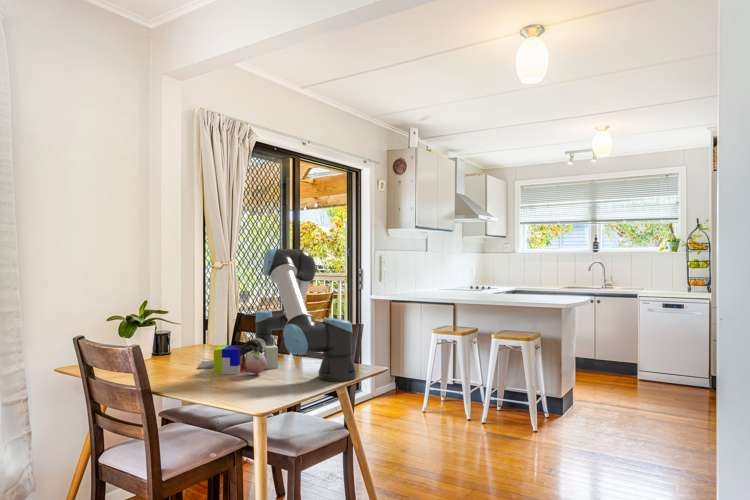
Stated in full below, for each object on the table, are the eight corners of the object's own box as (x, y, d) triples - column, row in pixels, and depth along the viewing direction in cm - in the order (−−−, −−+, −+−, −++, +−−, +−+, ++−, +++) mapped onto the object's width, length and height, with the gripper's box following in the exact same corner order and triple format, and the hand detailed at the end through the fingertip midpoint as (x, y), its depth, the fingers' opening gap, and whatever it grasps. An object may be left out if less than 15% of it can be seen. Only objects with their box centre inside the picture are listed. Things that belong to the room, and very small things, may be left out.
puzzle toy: (237, 374, 208) (238, 349, 208) (213, 374, 208) (213, 349, 208) (244, 368, 218) (244, 345, 218) (221, 368, 218) (221, 345, 218)
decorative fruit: (244, 373, 210) (244, 348, 210) (265, 371, 212) (265, 347, 212) (246, 378, 201) (246, 352, 201) (267, 376, 203) (267, 351, 203)
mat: (229, 367, 219) (229, 366, 219) (197, 369, 217) (197, 367, 217) (231, 361, 232) (231, 360, 232) (201, 362, 229) (201, 361, 229)
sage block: (277, 368, 219) (277, 347, 219) (266, 369, 217) (266, 348, 217) (275, 365, 223) (275, 345, 224) (264, 366, 222) (264, 346, 222)
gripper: (279, 356, 234) (258, 366, 213) (229, 354, 239) (205, 363, 218) (279, 340, 234) (259, 348, 213) (230, 338, 239) (205, 345, 219)
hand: (231, 355), depth 216 cm, fingers open, 13 cm apart
